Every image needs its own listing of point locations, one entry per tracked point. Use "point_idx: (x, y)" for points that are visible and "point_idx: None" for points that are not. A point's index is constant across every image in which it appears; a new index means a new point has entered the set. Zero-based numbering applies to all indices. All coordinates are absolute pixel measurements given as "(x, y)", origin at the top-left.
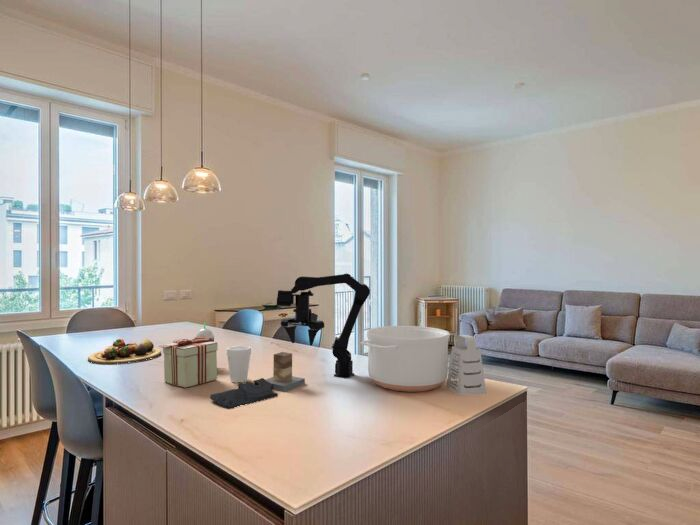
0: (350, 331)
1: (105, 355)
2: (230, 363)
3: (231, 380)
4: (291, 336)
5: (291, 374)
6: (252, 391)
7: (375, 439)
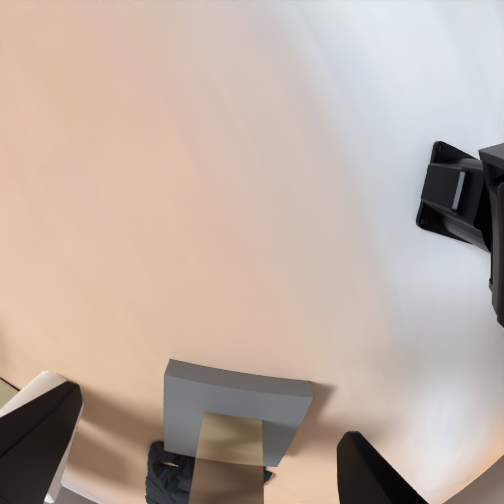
0: None
1: None
2: None
3: None
4: (51, 472)
5: (261, 439)
6: None
7: (459, 481)
